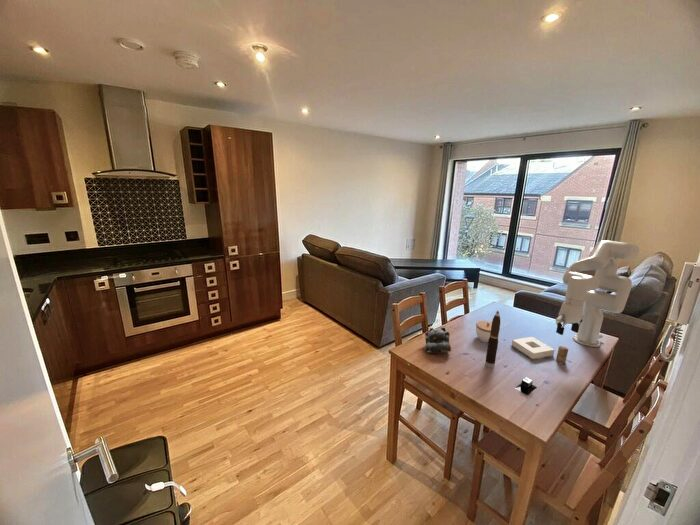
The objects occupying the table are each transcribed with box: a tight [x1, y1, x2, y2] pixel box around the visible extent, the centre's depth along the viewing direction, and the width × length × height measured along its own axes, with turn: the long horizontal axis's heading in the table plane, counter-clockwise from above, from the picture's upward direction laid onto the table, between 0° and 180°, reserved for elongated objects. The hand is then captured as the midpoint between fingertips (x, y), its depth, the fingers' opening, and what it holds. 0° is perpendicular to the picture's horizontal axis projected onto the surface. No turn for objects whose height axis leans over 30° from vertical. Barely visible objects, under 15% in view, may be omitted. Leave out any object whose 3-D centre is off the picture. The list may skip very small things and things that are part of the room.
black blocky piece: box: [514, 377, 538, 396], centre depth 129 cm, size 12×7×5 cm, turn 124°
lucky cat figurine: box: [424, 327, 452, 353], centre depth 158 cm, size 15×12×14 cm
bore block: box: [511, 336, 555, 361], centre depth 158 cm, size 14×14×4 cm
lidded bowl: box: [475, 320, 501, 343], centre depth 169 cm, size 13×13×11 cm
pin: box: [555, 345, 569, 365], centre depth 148 cm, size 4×4×8 cm
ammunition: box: [484, 310, 501, 369], centre depth 142 cm, size 5×5×30 cm
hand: (566, 332), depth 144 cm, fingers open, 9 cm apart
